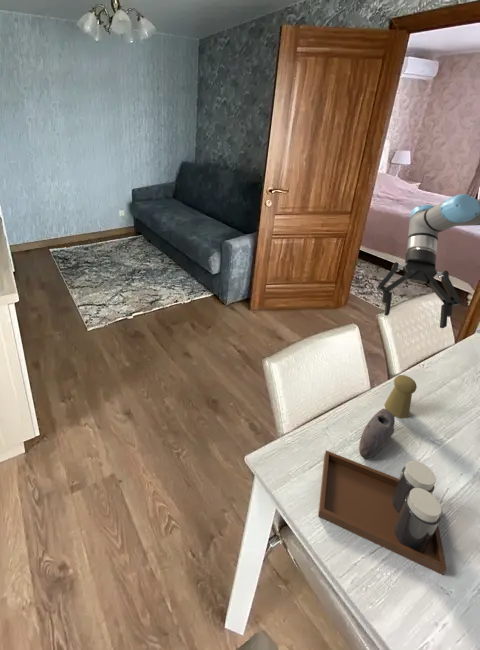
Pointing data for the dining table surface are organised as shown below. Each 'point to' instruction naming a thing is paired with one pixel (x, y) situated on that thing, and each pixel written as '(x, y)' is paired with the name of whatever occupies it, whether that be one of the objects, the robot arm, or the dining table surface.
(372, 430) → the perforated stone tool
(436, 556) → the spice tray
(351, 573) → the dining table surface
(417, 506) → the shaker
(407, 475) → the shaker
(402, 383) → the cork
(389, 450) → the dining table surface
